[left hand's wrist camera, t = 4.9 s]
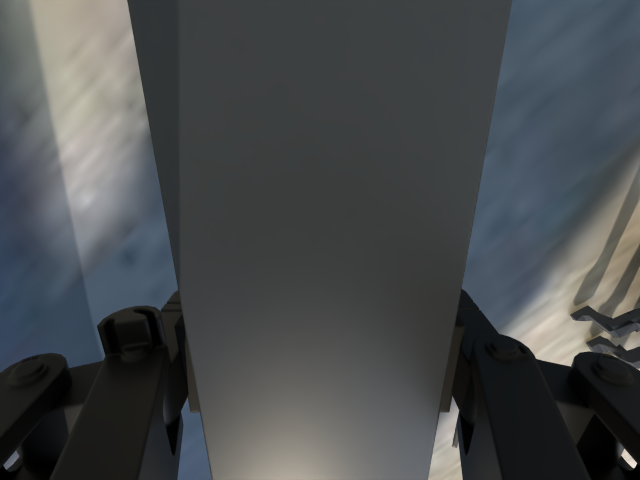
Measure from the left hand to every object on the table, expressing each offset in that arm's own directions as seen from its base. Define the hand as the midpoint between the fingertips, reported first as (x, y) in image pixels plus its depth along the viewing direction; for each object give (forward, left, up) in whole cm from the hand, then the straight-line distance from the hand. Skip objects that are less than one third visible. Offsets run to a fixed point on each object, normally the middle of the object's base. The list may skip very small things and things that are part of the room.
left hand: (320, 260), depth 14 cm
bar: (+5, +5, 0) cm, 7 cm away
